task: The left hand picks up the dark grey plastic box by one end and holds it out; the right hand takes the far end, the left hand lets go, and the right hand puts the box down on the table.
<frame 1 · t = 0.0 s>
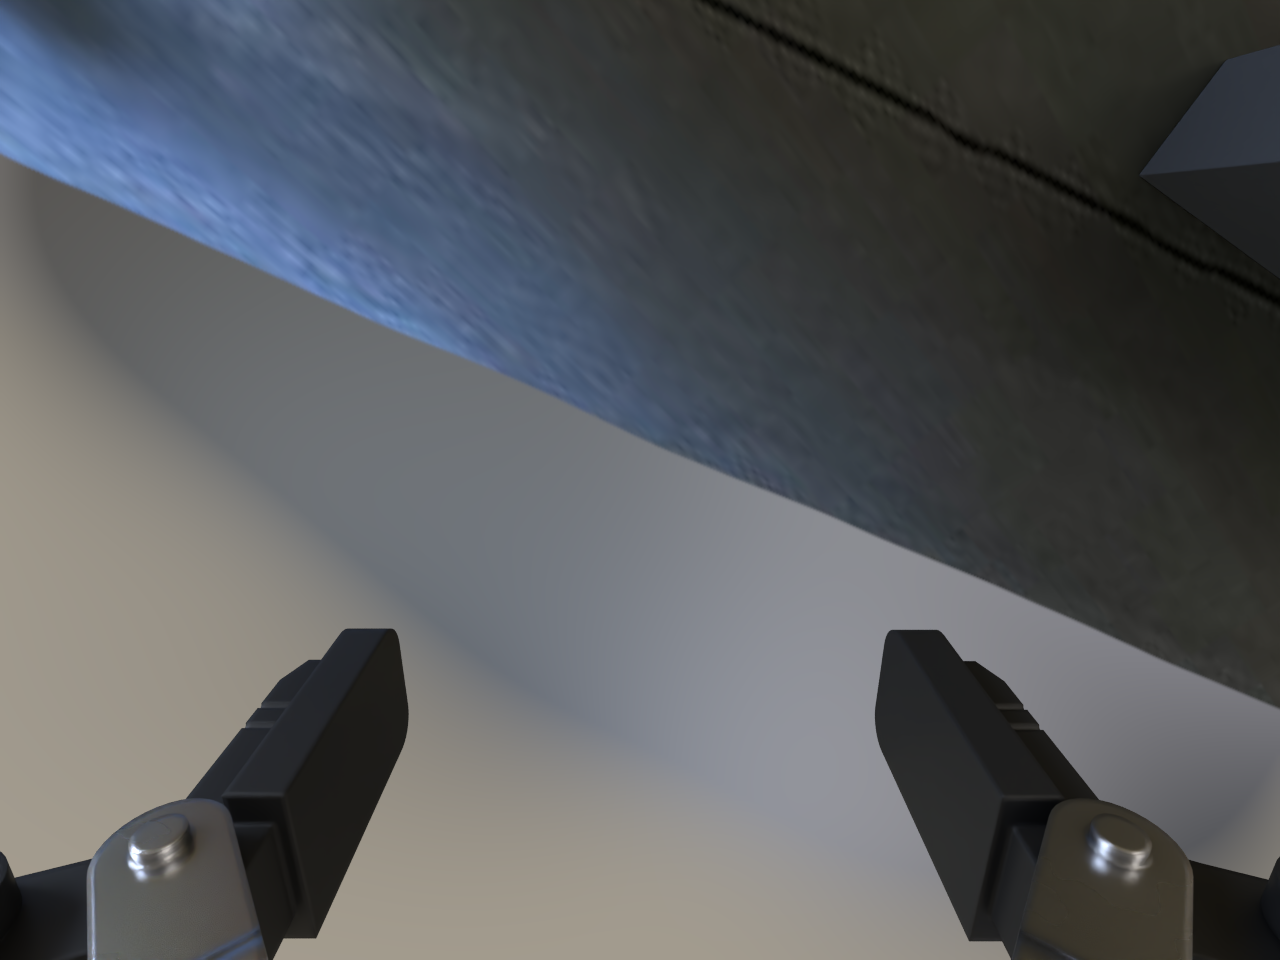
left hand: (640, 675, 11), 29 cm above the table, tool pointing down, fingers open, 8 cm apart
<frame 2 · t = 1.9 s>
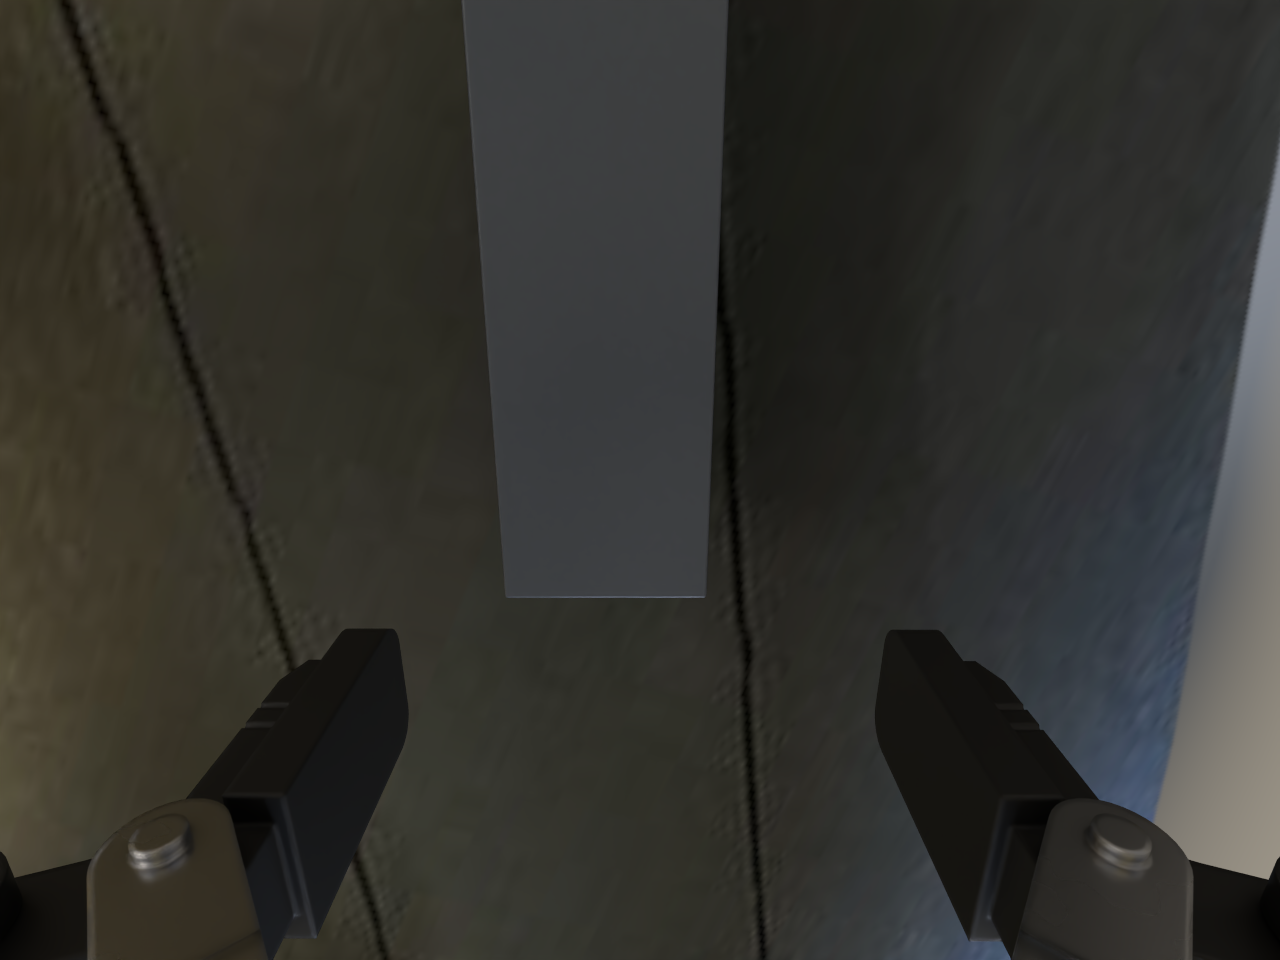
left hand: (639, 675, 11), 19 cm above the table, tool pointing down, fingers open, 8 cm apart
box: (612, 138, 26), on the table
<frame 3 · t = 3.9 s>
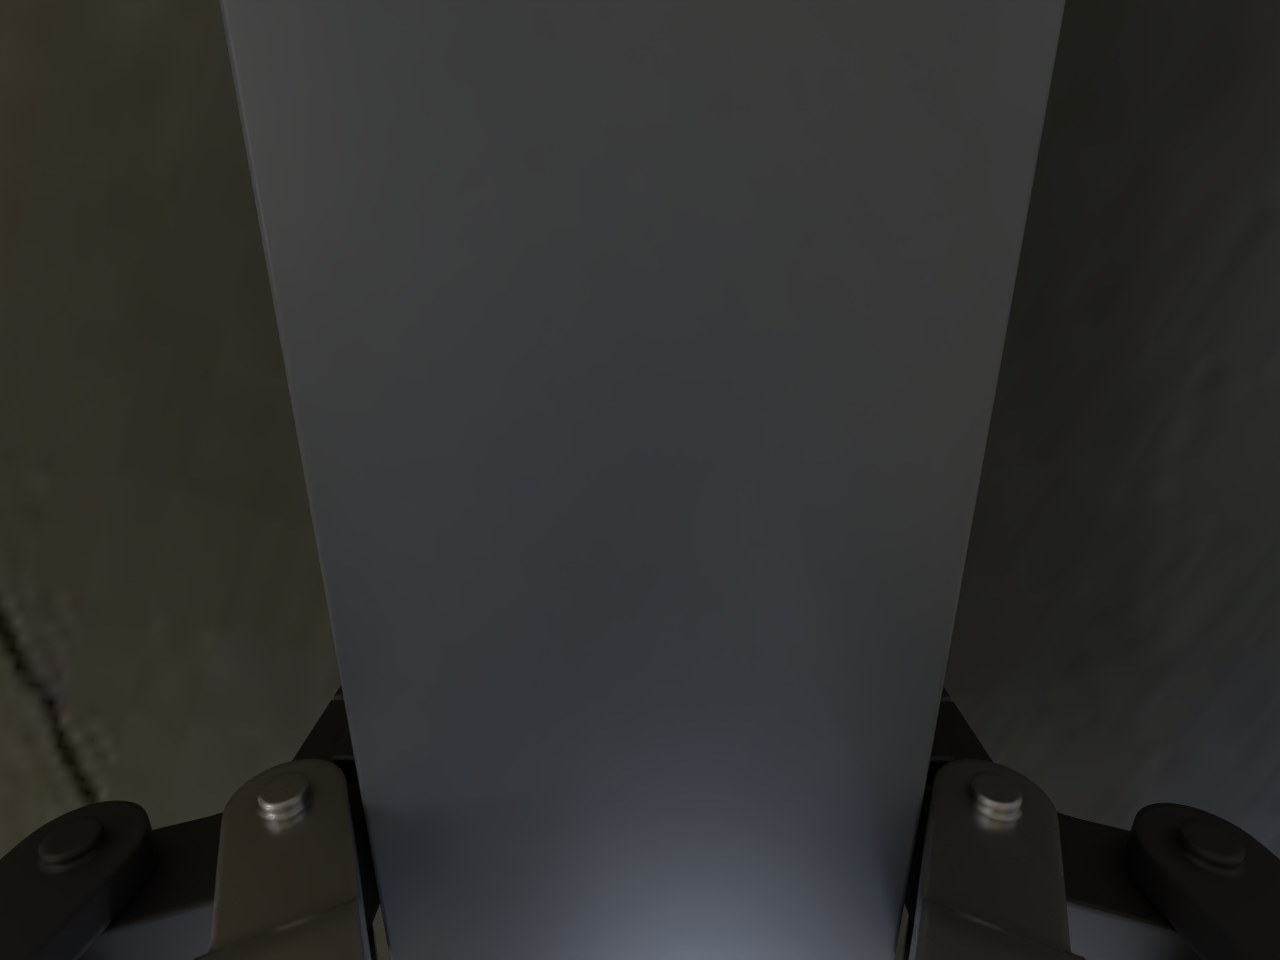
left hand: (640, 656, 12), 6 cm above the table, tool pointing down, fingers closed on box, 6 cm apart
box: (640, 87, 14), on the table, touching left hand
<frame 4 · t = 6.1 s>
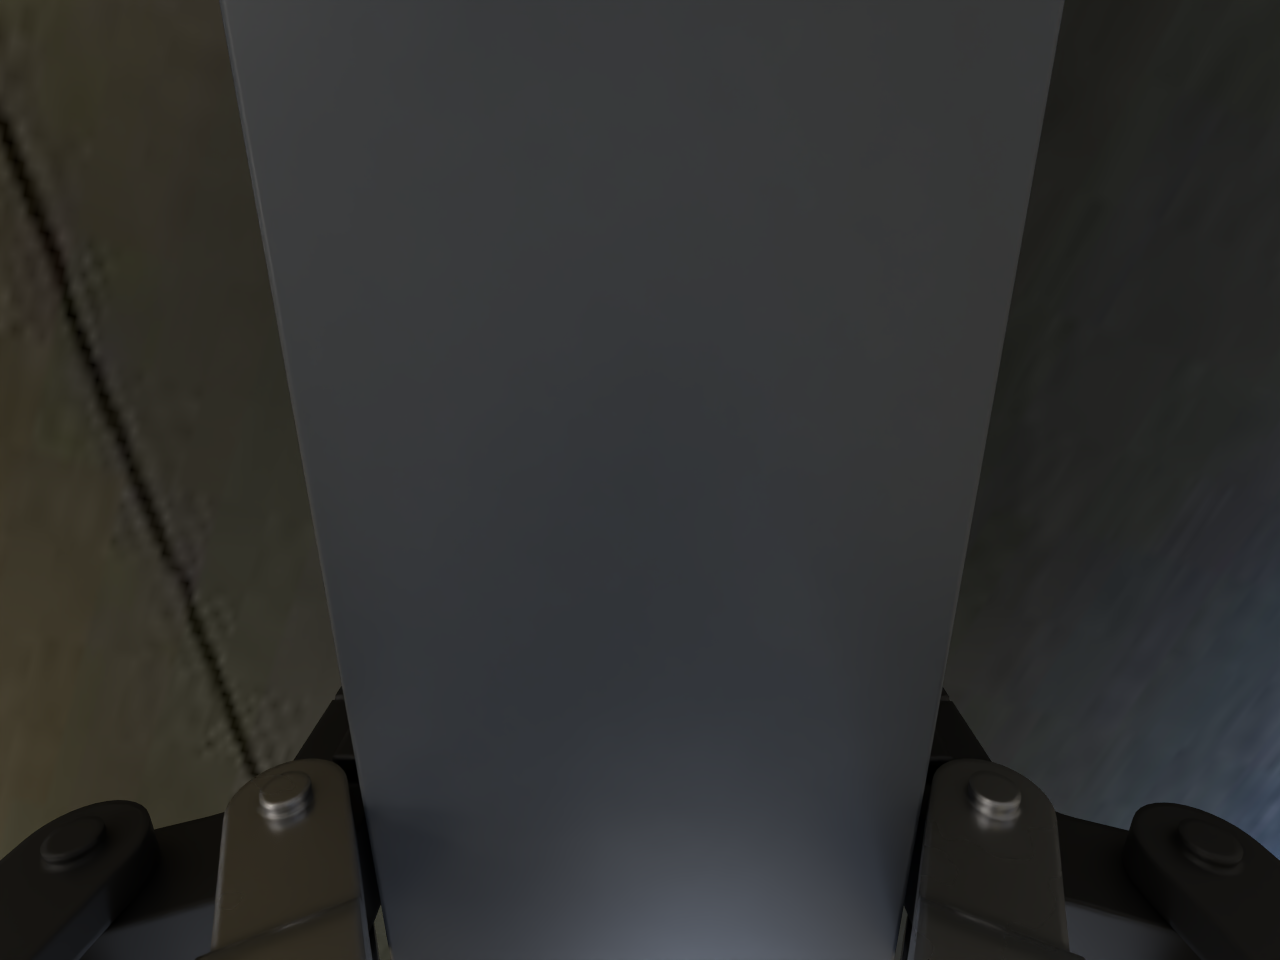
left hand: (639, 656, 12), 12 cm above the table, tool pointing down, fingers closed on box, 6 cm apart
box: (640, 87, 14), point 6 cm above the table, touching left hand
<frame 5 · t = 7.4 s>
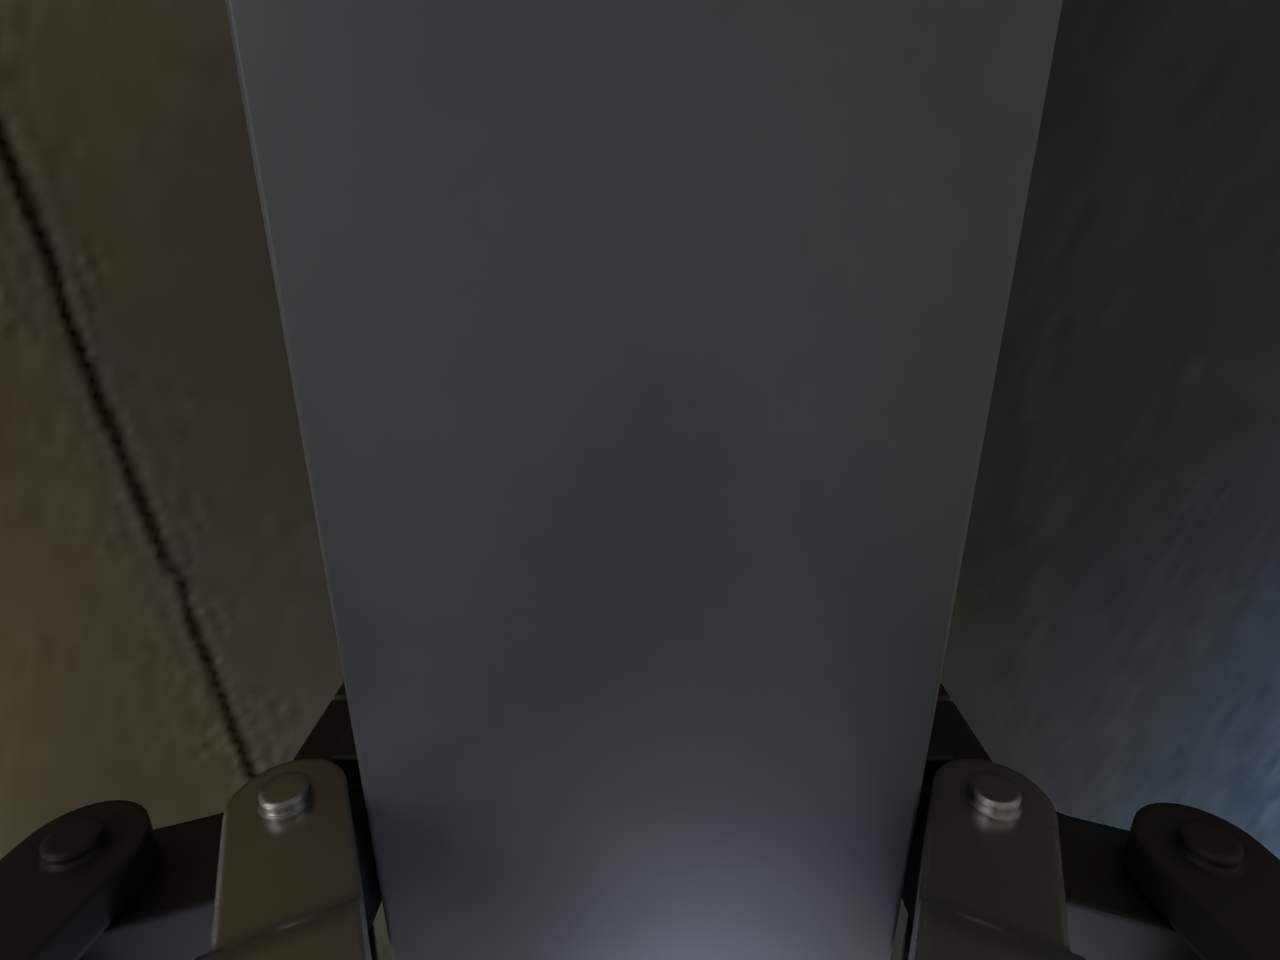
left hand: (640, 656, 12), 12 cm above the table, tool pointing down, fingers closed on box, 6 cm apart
box: (642, 86, 14), point 6 cm above the table, touching left hand, right hand
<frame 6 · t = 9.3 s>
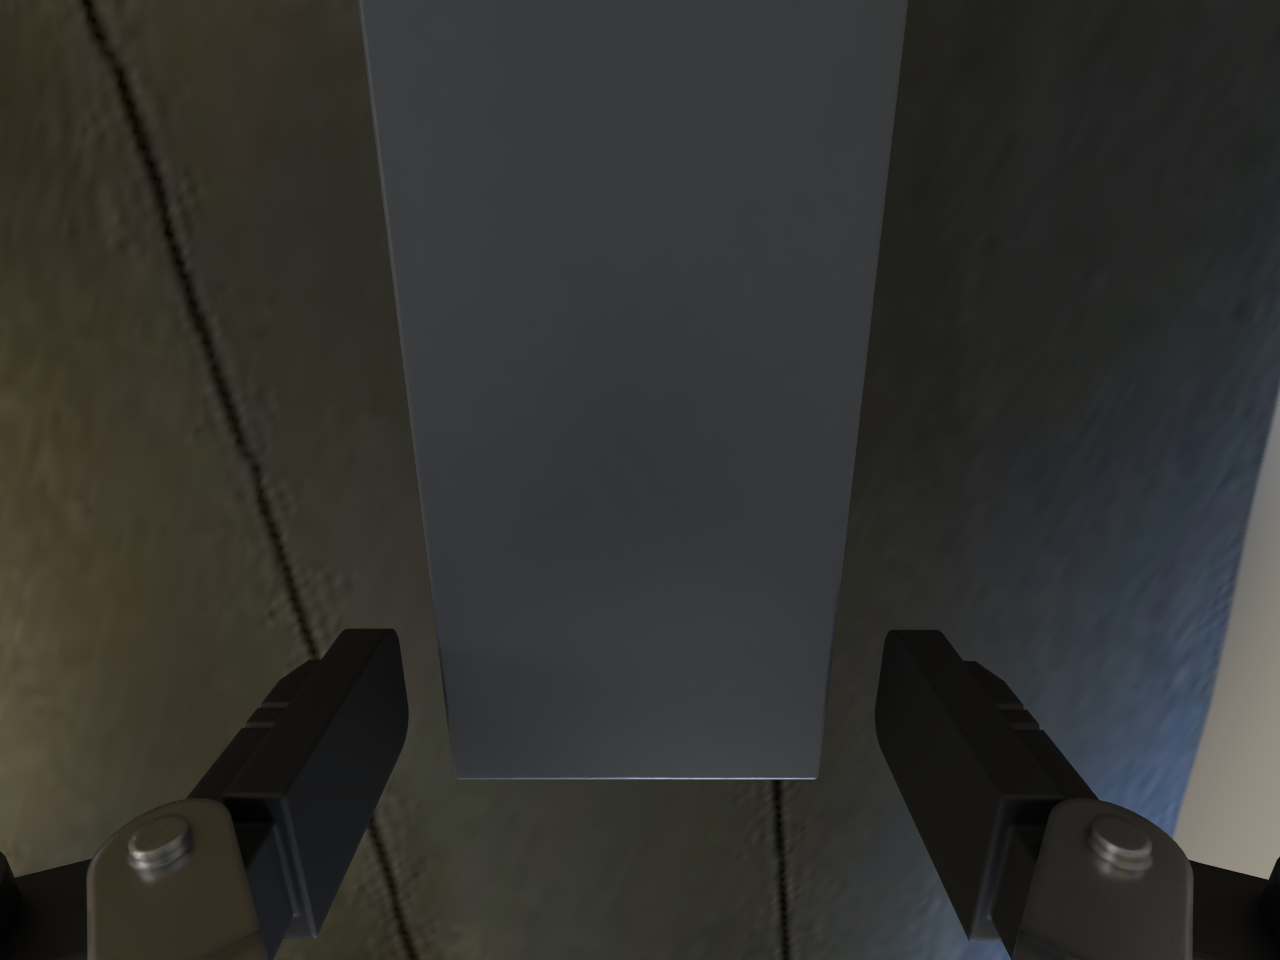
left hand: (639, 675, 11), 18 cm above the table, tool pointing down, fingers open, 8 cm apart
when the right hand's fingers open (6 cm above the table, at t = 12.1 s): box stays where it is, on the table.
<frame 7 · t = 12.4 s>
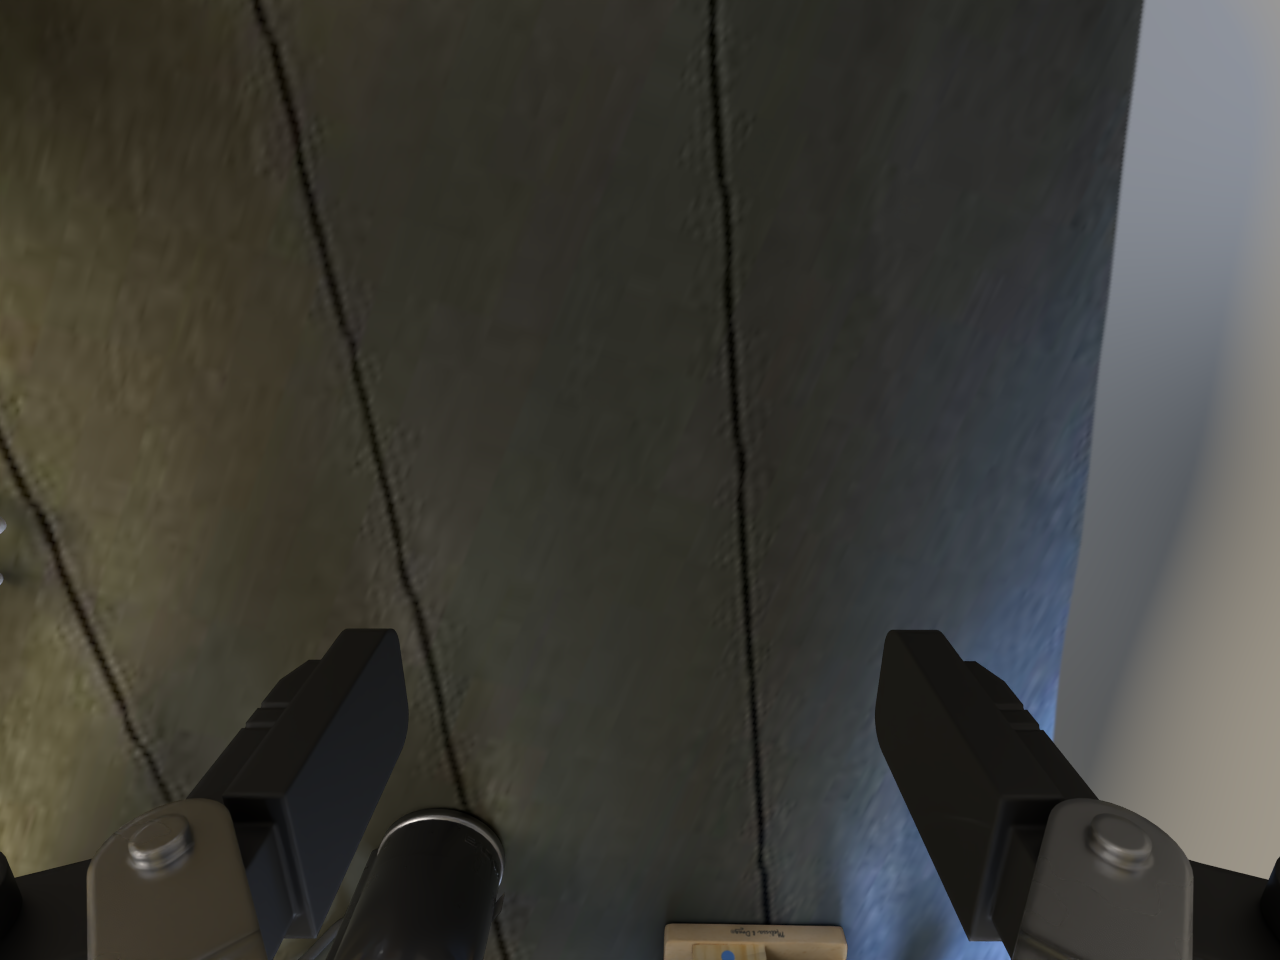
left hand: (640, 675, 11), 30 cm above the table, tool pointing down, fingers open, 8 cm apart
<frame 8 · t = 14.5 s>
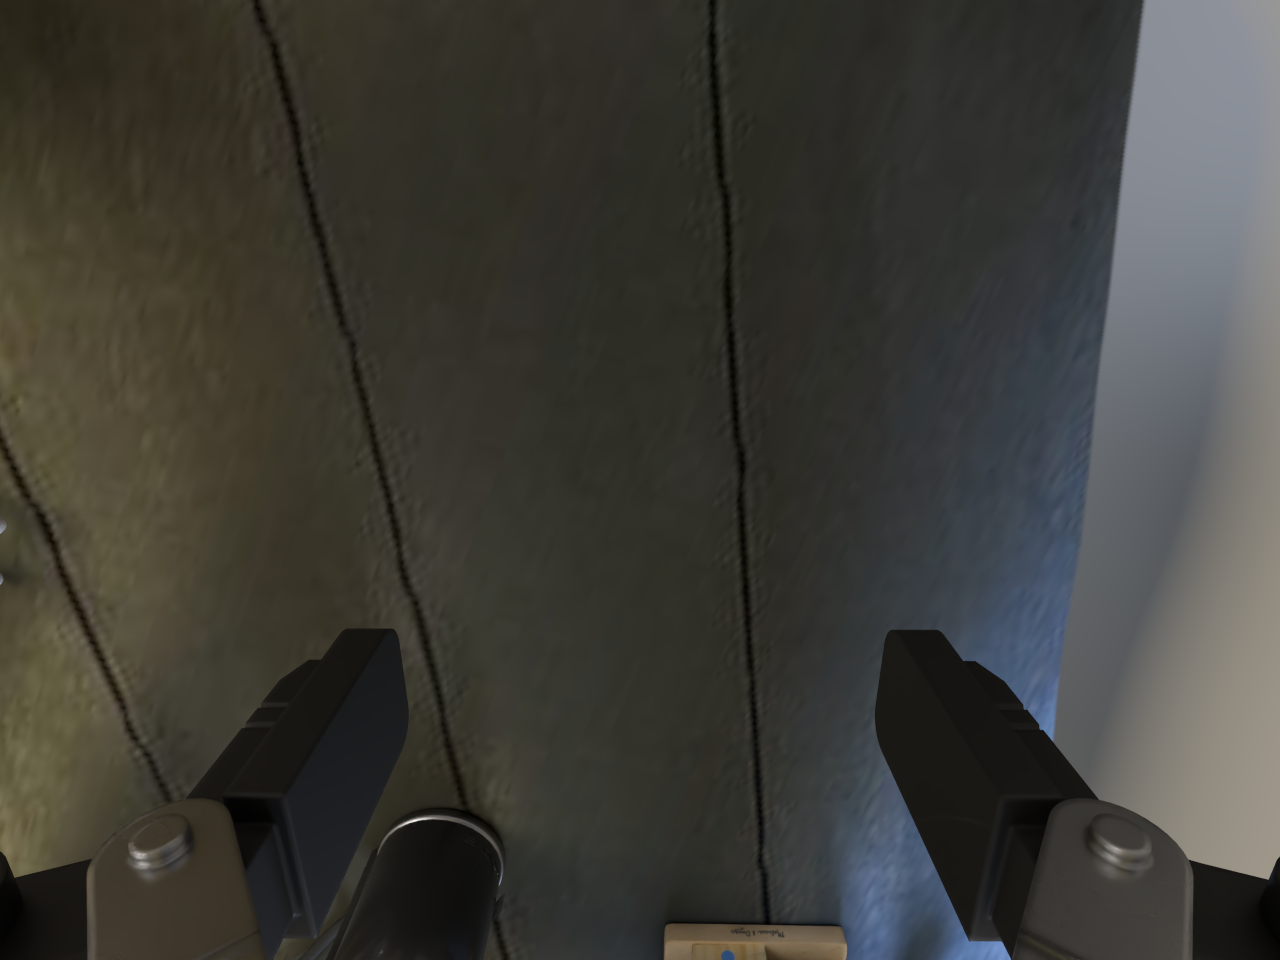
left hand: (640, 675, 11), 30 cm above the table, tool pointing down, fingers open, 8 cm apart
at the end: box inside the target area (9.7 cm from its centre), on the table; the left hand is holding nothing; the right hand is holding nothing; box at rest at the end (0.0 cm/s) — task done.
